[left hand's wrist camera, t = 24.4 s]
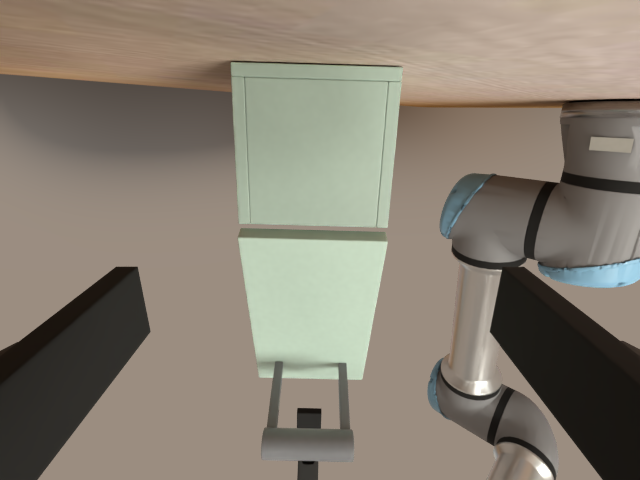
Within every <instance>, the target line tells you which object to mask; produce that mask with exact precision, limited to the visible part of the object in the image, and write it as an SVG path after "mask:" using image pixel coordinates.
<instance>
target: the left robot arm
mask: <svg viewBox="0 0 640 480" xmlns="http://www.w3.org/2000/svg"><path fill="white" fill-rule="evenodd" d="M149 333H150V327H149V322H148V317H147V312H146V307H145V302H144V297H143V292H142V287H141V282H140V277H139V272H138V267H115V268H114V269H113V270H112V271H110V272H109V273H108V274H106V275H105V276H104V277H102V278H101V279H100V280H98V281H97V282H96V283H95V284H93V285H92V286H91V287H89V288H88V289H87V290H86V291H84V292H83V293H82V294H80V295H79V296H78V297H76V298H75V299H74V300H73V301H71V302H70V303H69V304H67V305H66V306H65V307H63V308H62V309H61V310H60V311H58V312H57V313H56V314H54V315H53V316H52V317H50V318H49V319H48V320H47V321H45V322H44V323H43V324H41V325H40V326H39V327H37V328H36V329H35V330H34V331H32V332H31V333H30V334H28V335H27V336H26V337H24V338H23V339H22V340H21V341H19V342H17V343H15V344H13V345H11V346H9V347H7V348H5V349H3V350H1V351H0V480H37V479H38V478H39V477H40V475H41V474H42V473H43V471H44V470H45V469H46V468H47V466H48V465H49V464H50V462H51V461H52V460H53V458H54V457H55V456H56V454H57V453H58V452H59V451H60V449H61V448H62V447H63V445H64V444H65V443H66V441H67V440H68V439H69V438H70V436H71V435H72V434H73V432H74V431H75V430H76V428H77V427H78V426H79V424H80V423H81V422H82V421H83V419H84V418H85V417H86V415H87V414H88V413H89V411H90V410H91V409H92V407H93V406H94V405H95V403H96V402H97V401H98V400H99V398H100V397H101V396H102V394H103V393H104V392H105V390H106V389H107V388H108V387H109V385H110V384H111V383H112V381H113V380H114V379H115V377H116V376H117V375H118V373H119V372H120V371H121V370H122V368H123V367H124V366H125V364H126V363H127V362H128V360H129V359H130V358H131V356H132V355H133V354H134V353H135V351H136V350H137V349H138V347H139V346H140V345H141V343H142V342H143V341H144V339H145V338H146V337H147V335H148V334H149ZM490 333H491V334H492V336H493V337H494V338H495V339H496V341H497V342H498V343H499V345H500V346H501V347H502V349H503V350H504V351H505V353H506V354H507V355H508V356H509V358H510V359H511V360H512V362H513V363H514V364H515V366H516V367H517V368H518V369H519V371H520V372H521V373H522V375H523V376H524V377H525V379H526V380H527V381H528V383H529V384H530V385H531V387H532V388H533V389H534V390H535V392H536V393H537V394H538V396H539V397H540V398H541V400H542V401H543V402H544V404H545V405H546V406H547V407H548V409H549V410H550V411H551V413H552V414H553V415H554V417H555V418H556V419H557V421H558V422H559V423H560V424H561V426H562V427H563V428H564V430H565V431H566V432H567V434H568V435H569V436H570V438H571V439H572V440H573V441H574V443H575V444H576V445H577V447H578V448H579V449H580V450H581V452H582V453H583V455H584V456H585V457H586V458H587V460H588V461H589V462H590V464H591V465H592V466H593V468H594V469H595V470H596V472H597V473H598V474H599V475H600V477H601V478H602V479H603V480H640V349H638V348H636V347H634V346H632V345H630V344H628V343H626V342H624V341H619V340H618V339H617V338H616V337H614V336H613V335H612V334H610V333H609V332H608V331H606V330H605V329H604V328H603V327H601V326H600V325H599V324H597V323H596V322H595V321H593V320H592V319H591V318H590V317H588V316H587V315H586V314H584V313H583V312H582V311H580V310H579V309H578V308H577V307H575V306H574V305H573V304H571V303H570V302H569V301H567V300H566V299H565V298H564V297H562V296H561V295H560V294H558V293H557V292H556V291H555V290H553V289H552V288H551V287H549V286H548V285H547V284H545V283H544V282H543V281H542V280H540V279H539V278H538V277H536V276H535V275H534V274H532V273H531V272H530V271H529V270H527V269H526V268H525V267H502V272H501V277H500V282H499V287H498V292H497V297H496V302H495V307H494V312H493V317H492V322H491V327H490Z"/></svg>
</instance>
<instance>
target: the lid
mask: <svg viewBox="0 0 640 480" xmlns="http://www.w3.org/2000/svg"><path fill="white" fill-rule="evenodd" d="M238 243H239V250H240V256H241V263H242V269H243V276H244V282H245V289H246V295H247V302H248V309H249V315H250V322H251V328H252V335H253V341H254V348H255V354H256V361H257V367H258V374H259V377H270V378H273V382H272V390H271V398H270V406H269V414H268V422H267V428H264V431H263V436H262V446H261V458H262V460H286V461H331V462H353V460H354V437H353V431H352V430H351V429H350V417H349V399H348V381H347V379H354V380H362V377H363V372H364V367H365V361H366V356H367V351H368V345H369V340H370V334H371V329H372V324H373V318H374V313H375V308H376V302H377V297H378V291H379V286H380V281H381V275H382V270H383V265H384V259H385V254H386V248H387V243H388V241H387V236H386V233H385V232H361V231H324V230H287V229H250V228H241V229H240V232H239V235H238ZM282 378H311V379H339V409H340V429H308V428H277V423H278V413H279V403H280V393H281V384H282Z"/></svg>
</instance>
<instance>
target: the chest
mask: <svg viewBox="0 0 640 480" xmlns="http://www.w3.org/2000/svg"><path fill="white" fill-rule="evenodd" d="M230 64H231V76H232V77H231V84H232V103H233V123H234V142H235V162H236V181H237V201H238V220H239V224H250V223H251V224H273V225H311V226H348V227H381V228H387V227H388V219H389V208H390V198H391V187H392V177H393V166H394V156H395V146H396V135H397V125H398V114H399V104H400V93H401V81H402V72H403V67H383V66H351V65H318V64H285V63H252V62H231V63H230Z"/></svg>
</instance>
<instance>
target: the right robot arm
mask: <svg viewBox="0 0 640 480" xmlns="http://www.w3.org/2000/svg"><path fill="white" fill-rule="evenodd" d="M560 124H561V133H562V142H563V151H564V160H565V164H564V169H563V173H562V177H561V181H560V183H555V182H547V181H539V180H531V179H523V178H515V177H507V176H499V175H496V174H490V175H489V174H476V173H473V174H468V175H466V176H464V177H463V178H461V179H460V180H459V181H458V182H457V183H456V185H455V186H454V187H453V189H452V191H451V192H450V194H449V196H448V198H447V200H446V202H445V205H444V207H443V211H442V214H441V219H440V231H441V234H442V235H443V236H444V237H446V238H447V239H452V255H453V256H454V258H455V259H456V260H457V261H458V262H460V263H459V272H458V282H457V291H456V301H455V310H454V320H453V329H452V339H451V348H450V353H449V354H448V355H446V356H445V357H444V358H442V359H440V360H439V361H438V362H437V363H436V365H435V367H434V368H433V370H432V373H431V376H430V377H431V379H430V381H429V383H428V400H429V403H430V405H431V406H432V408H433V409H434V410H436V411H437V412H439V413H440V414H442V415H443V417H445V418H446V419H449V420H452V421H454V422H455V423H457V424H459V425H460V426H462V427H463V428H465V429H467V430H468V431H470V432H472V433H473V434H475V435H476V436H478V437H480V438H481V439H483V440H485V441H486V442H488V443H490V444H491V445H493V446H495V447H494V450H493V454H494V458H495V460H496V461H495V463H494V465H493V467H492V469H491V471H490V473H489V475H488V477H487V479H486V480H556V476H557V472H558V465H559V461H558V451H557V445H556V441H555V437H554V434H553V432H552V429H551V427H550V425H549V423H548V421H547V419H546V418H545V416H544V414H543V413H542V412H541V410H540V409H539V408H538V407H537V406H536V404H535V403H533V402H532V401H531V400H530V399H529V398H528V397H526V396H525V395H523V394H521V393H520V392H518V391H515V390H513V389H511V388H509V387H507V386H505V385H503V384H502V374H501V371H500V369H499V368H498V366H497V365H496V363H497V357H498V352H499V347H500V345H499V343H498V342H497V341H496V339H495V338H494V337H493V336H492V334H491V333H490V327H491V322H492V317H493V312H494V307H495V302H496V297H497V292H498V287H499V282H500V277H501V272H502V267H522V266H523V265H524V264H525V262H526V260H527V258H530V259H534V260H537V261H539V262H538V267H539V271H540V272H541V273H542V274H543V275H545V276H547V277H550V278H551V279H553V280H556V281H559V282H563V283H567V284H572V285H577V286H584V287H595V288H611V287H621V286H626V285H630V284H632V283H634V282H636V281H638V280H639V279H640V101H603V102H576V103H565V104H563V107H562V111H561V115H560ZM297 428H308V429H321V409H313V408H298V410H297ZM298 480H318V461H298Z"/></svg>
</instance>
